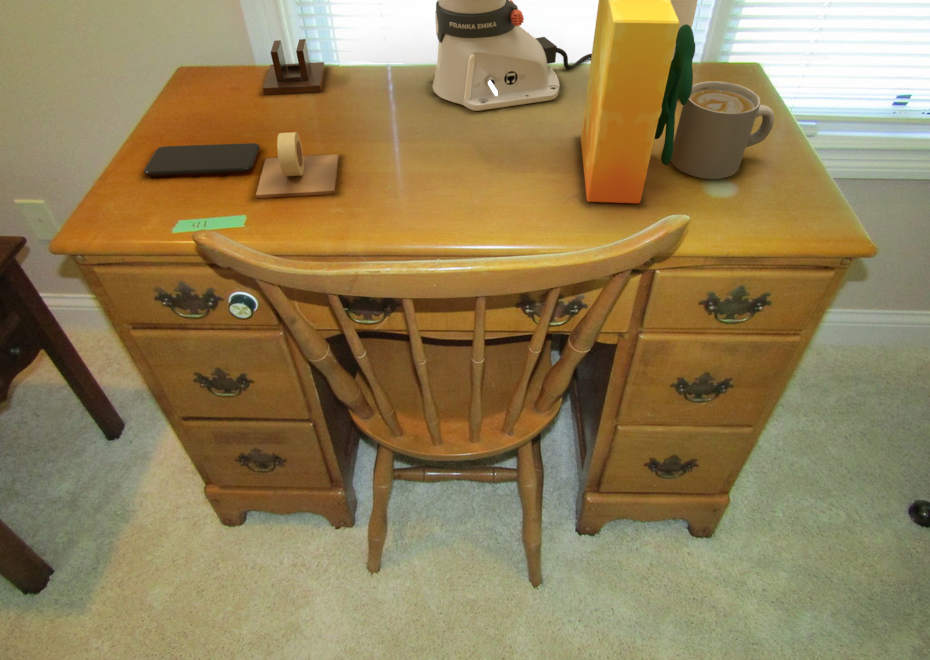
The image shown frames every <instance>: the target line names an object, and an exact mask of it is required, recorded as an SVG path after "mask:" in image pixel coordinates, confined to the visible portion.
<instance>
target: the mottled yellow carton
mask: <svg viewBox="0 0 930 660" xmlns="http://www.w3.org/2000/svg"><path fill="white" fill-rule="evenodd" d="M679 24H680V22H679V20H678V17H677V15H676V13H675V10H674V8H673V6H672V4H671V1H670V0H598V3H597V11H596V18H595V26H594V35H593V41H592V42H593V43H592V49H591V54H592V56H591V58H590V65H589V72H588V79H587V88H586V96H585V102H584V103H585V104H584V111H583V117H582V118H583V119H582V124H581V125H582V126H581V134H580V146H581V156H582V165H583V174H584V185H585V194H586V196H585V197H586V201H587V202H588V203H610V204H611V203H612V204H614V203H615V204H640V203H641V200H642V196H643V192H644V187H645V182H646V178H647V173H648V169H649V165H650V160H651V156H652V151H653V146H654V142H655V140H659V139H660V138H661V137H662V135H663V133H664V129H665V133H664V143H663V147H662V152H661V157H660V161H661V164H662V165H663V166H668V165H669V164H670V163H671V158H672V154H673V144H674V139H675V124H676V123H675V122H676V111H677V106H678V101H679V103H680V105H682V106H683V105H685V104H686V103H687V101H688V99H689V97H690V95H691V92H692V86H693V85H694V83H693V82H694V73H693V72H694V71H693V60H694V57H695V54H696V42H695V37H694V32H693V29H691V27H690V26H689V25H687V24H685V25H683V26H681V27H680V28H679ZM678 29H679V31H678ZM675 43H676V47H675ZM674 47H675V54H674V57H673V60H672V56H673V52H674Z"/></svg>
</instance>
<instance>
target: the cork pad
mask: <svg viewBox="0 0 930 660" xmlns="http://www.w3.org/2000/svg"><path fill="white" fill-rule="evenodd" d="M303 158H304V171H303V175H302V176H284V175H283V173H282V171H281V168H280V164H279V158H278V157H265V160H264V162H263V167H262V170H261V174H260V177H259V181H258V185H257V189H256V192H255V197H256V199H270V198H288V197H290V198H291V197H305V196H325V195H326V196H327V195H335V194H336V188H337V187H336V186H337V180H338V179H337V178H338V169H339V161H340V159H339V158H340V156H339V153H337V154H335V153H334V154H320V155H319V154H318V155H303Z"/></svg>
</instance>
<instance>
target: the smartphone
mask: <svg viewBox="0 0 930 660" xmlns="http://www.w3.org/2000/svg"><path fill="white" fill-rule="evenodd" d="M260 150H261V146H260V144H258V143H256V142H249V143H247V142H246V143H223V144H221V143H217V144H191V145H168V146H165V145H163V146H160V147H157V149H155V151H154V153H152V154H153V155H152V156H151V157H150V159H149V161H148V162H147V165H146V166H145V168H144V170H143V173H144V175H145V176H146V177H171V176H194V175H195V176H197V175H199V176H200V175H224V174H225V175H226V174H247V173H250V172H251V171H253V169H254V166H255V164H256V161H257V158H258V156H259V153H260Z"/></svg>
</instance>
